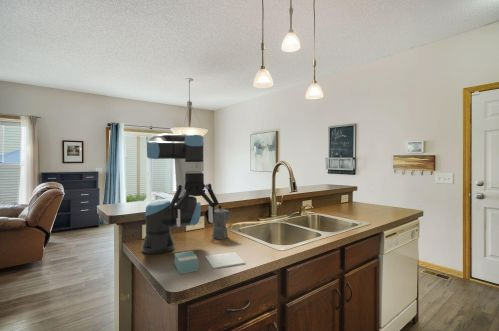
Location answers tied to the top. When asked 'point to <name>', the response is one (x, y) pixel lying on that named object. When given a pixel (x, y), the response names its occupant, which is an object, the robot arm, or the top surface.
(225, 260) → the mat
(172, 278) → the top surface
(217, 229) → the coffeepot
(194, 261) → the light blue block
